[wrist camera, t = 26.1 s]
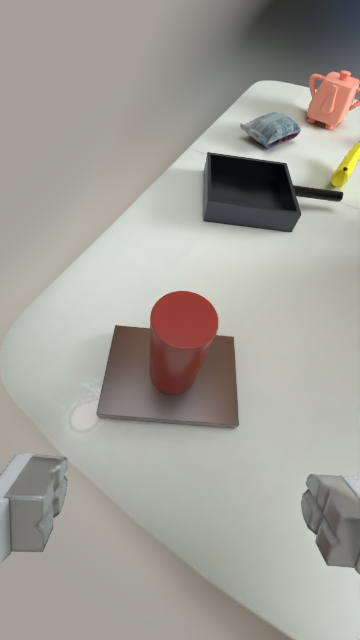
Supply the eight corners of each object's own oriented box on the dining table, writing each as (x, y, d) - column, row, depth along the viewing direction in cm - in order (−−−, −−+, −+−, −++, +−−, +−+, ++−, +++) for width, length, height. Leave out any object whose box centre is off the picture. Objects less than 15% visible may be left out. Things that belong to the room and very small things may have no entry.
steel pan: (203, 221, 45) (207, 201, 42) (204, 170, 53) (207, 151, 50) (341, 238, 46) (355, 220, 43) (322, 186, 54) (332, 169, 51)
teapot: (292, 107, 74) (311, 58, 65) (331, 110, 76) (354, 62, 67) (312, 133, 67) (336, 81, 58) (354, 135, 69) (383, 86, 60)
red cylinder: (146, 392, 27) (146, 345, 18) (152, 348, 30) (154, 287, 21) (195, 397, 28) (219, 352, 18) (196, 353, 30) (218, 294, 21)
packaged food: (237, 137, 61) (243, 112, 57) (269, 126, 66) (278, 102, 62) (265, 156, 58) (274, 131, 54) (297, 143, 63) (308, 119, 59)
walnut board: (98, 417, 27) (96, 414, 26) (116, 331, 32) (115, 325, 31) (234, 428, 28) (239, 425, 27) (230, 342, 33) (233, 336, 32)
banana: (356, 165, 61) (376, 133, 55) (332, 204, 51) (354, 171, 46) (343, 159, 61) (362, 128, 56) (318, 197, 52) (338, 164, 47)
